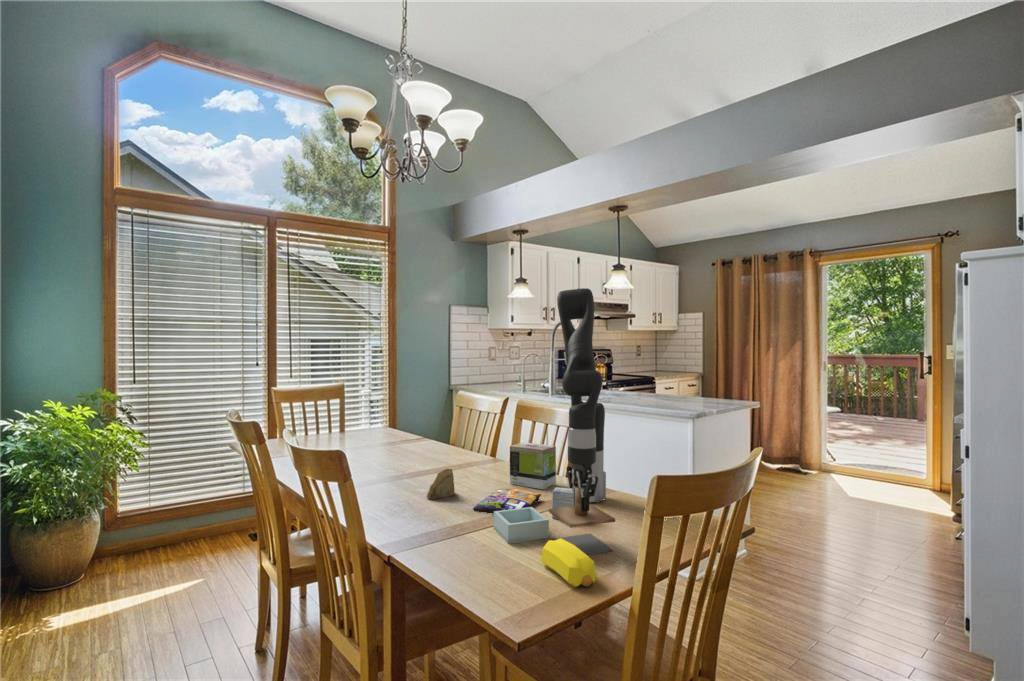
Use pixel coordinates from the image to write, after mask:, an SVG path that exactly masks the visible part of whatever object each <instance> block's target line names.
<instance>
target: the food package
mask: <svg viewBox="0 0 1024 681" xmlns="http://www.w3.org/2000/svg"><path fill="white" fill-rule="evenodd" d="M541 496H542V493H538V492H535V491H534V492H533V491H527V490H525V489H518V488H499V489H496V490H495V491H494V492H492V493H491V494H490V495H488V496H487V497H485V498H484V499H483V500H481V501H480V502H479V503H477V504H476V505H475V506H474V507H473V508H472V511H473V510H474V512H476V511H479V512H478V513H481V512H487V513H486V514H488V513H493V514H492V515H494V511H501V510H510V509H518V508H527V507H531V505H532V504H534V503H536V502H535V501H537V502H539V501H540V497H541ZM538 500H539V501H538ZM533 502H534V503H533Z"/></svg>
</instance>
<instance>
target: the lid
mask: <svg viewBox="0 0 1024 681" xmlns="http://www.w3.org/2000/svg"><path fill="white" fill-rule="evenodd" d="M584 492H585V488H584ZM548 512H549V514H551V515H554V516H555V517H556V518H558V519H557V520H559V521H561V522H562V523H563V524H565V525H566V526H568V527H569V528H570V529H571V528H579V527H587V526H593V525H602V524H609V523H615V522H616V518H615V517H613V516H611V515H610V514H608V513H606V512H605V511H603V510H601V509H599V508H598V507H596V506H595V505H593V504H592V503H589V511H586V512H583V511H581V491H580V488H579V487H578V486H576V487H575V506H571V507H562V508H554V509H552V508H549V509H548Z"/></svg>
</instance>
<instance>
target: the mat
mask: <svg viewBox="0 0 1024 681" xmlns="http://www.w3.org/2000/svg"><path fill="white" fill-rule="evenodd" d="M560 538H561V539H563V540H565V541H567V542H569V543H571V544H573V545H575V546H576V547H577V548H578V549H580V550H581V551H582V552H583V553H585V554H586V555H587V556H589V555H595V554H601V553H607V552H613V551H614V548H612V547H610V546H609V545H608V544H606V543H605V542H603V541H602V540H601V539H599V538H597V537H596V536H595V535H594V534H592V533H590V532H589V533H584V534H576V535H570V536H569V535H568V536H564V537H563V536H562V537H556V538H552V539H551V540H552V541H555V540H557V539H560Z"/></svg>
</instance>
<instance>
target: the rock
mask: <svg viewBox="0 0 1024 681" xmlns="http://www.w3.org/2000/svg"><path fill="white" fill-rule="evenodd" d="M454 478H455V477H454V473H453V469H452V468H445V469H443V470H442V471H440V472H438V473H437V474H436V477H435V479H434V481H433V482H432V484H431V485H430V487H429V489H428V491H427V495H426V498H427V499H428V500H435V498H437V499H442V498H441V497H444V498H447V497H452V496H455V494H456V493H455V482H454V480H455V479H454Z"/></svg>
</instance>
